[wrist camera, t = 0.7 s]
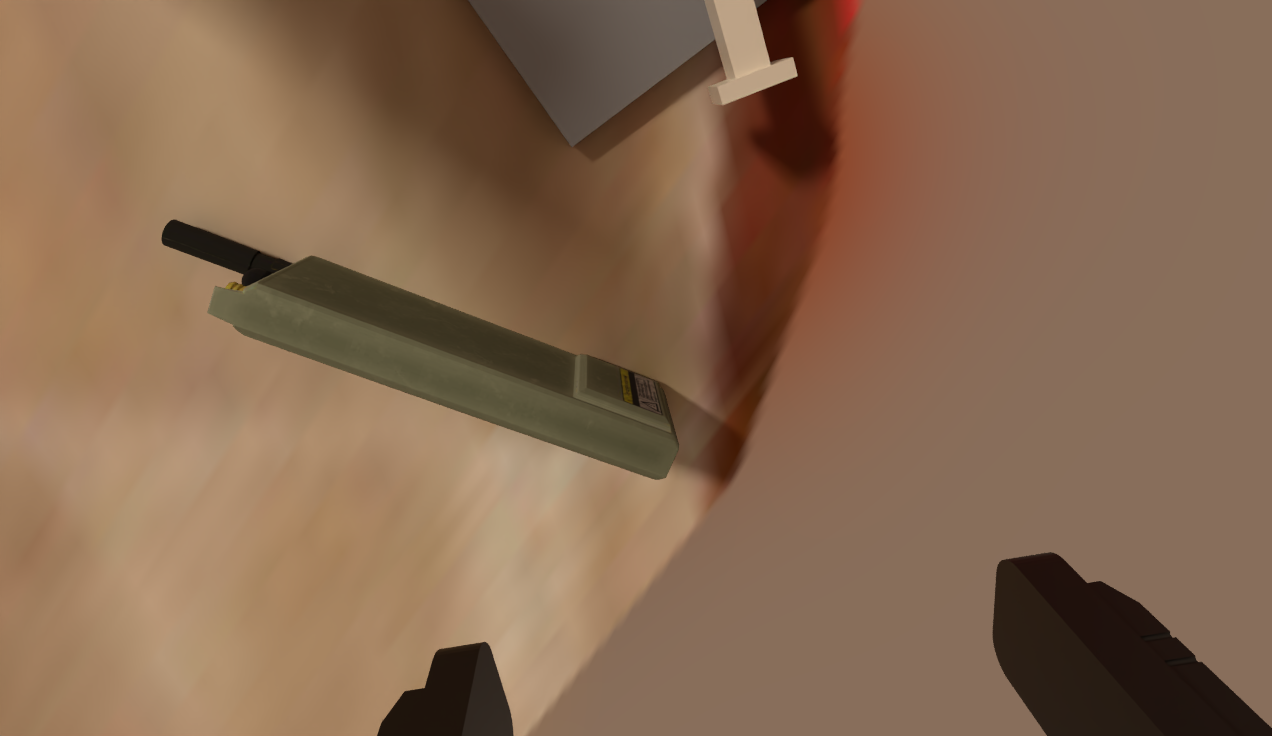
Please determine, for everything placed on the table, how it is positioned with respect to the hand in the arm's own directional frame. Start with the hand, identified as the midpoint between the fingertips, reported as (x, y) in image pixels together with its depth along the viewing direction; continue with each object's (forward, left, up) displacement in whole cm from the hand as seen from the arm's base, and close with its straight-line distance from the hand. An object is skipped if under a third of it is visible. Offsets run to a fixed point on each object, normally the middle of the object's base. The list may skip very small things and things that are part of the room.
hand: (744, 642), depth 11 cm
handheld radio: (-4, -10, -26) cm, 28 cm away
